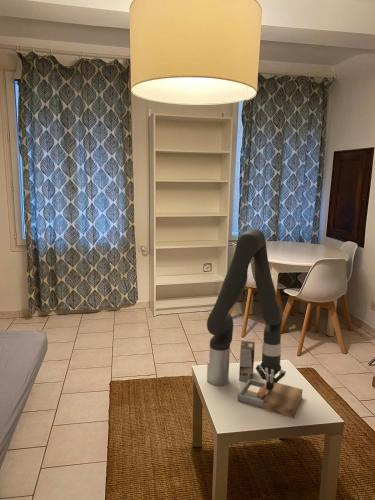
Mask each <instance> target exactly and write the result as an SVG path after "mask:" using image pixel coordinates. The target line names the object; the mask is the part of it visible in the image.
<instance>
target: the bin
mask: <svg viewBox="0 0 375 500" xmlns="http://www.w3.org/2000/svg"><path fill="white" fill-rule="evenodd" d="M265 384H266V382H263V381H260V380H256V379H253V378H252V379H250V378H249V380H248V381H246V383H245V384H244V386H243V387H242V389H241V390H240V391H239V392H238V395H237V402H239V403H243V404H245V405H249V406H253V407H255V408H259V409H261V410H264V409H263V400H264V398H265V397H266V395H267V393H268V391H269V390H268V391H267V392H266V393H265V395H264V396H263V397H262V398H260V397H259V396H257V397H256V396H252V395H248V394H247V390H248V388H249V387H250V385H253V386H256V387H260V390H261V389H262V387H263V386H264V385H265Z"/></svg>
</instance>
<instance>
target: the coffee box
mask: <svg viewBox="0 0 375 500" xmlns="http://www.w3.org/2000/svg"><path fill="white" fill-rule="evenodd" d="M255 343H256V342H255V341H248V340H247V341H244V340H241V341H240V351H239V352H240V353H239V354H240V356H239V372H238V376H239V377H238V381H240V382H241V381H243V382H247V381H248V380H249V378H250V379H253V377H254V367H255V366H254V363H255V350H256V349H255V345H256V344H255Z"/></svg>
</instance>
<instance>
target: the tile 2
mask: <svg viewBox="0 0 375 500" xmlns="http://www.w3.org/2000/svg"><path fill="white" fill-rule="evenodd" d="M267 389H268V388H266V384H265V385H264V386H263V387H262V389H261V390H260V391H259V393H258V396H259V397H260V398H262V397H263V396H264V395H265V393H266V392H267V391H268V390H267Z"/></svg>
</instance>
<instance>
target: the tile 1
mask: <svg viewBox="0 0 375 500" xmlns="http://www.w3.org/2000/svg"><path fill="white" fill-rule="evenodd" d="M259 391H260V387H256V386H253V385H250V387H249V388H248V390H247V394H248V395H252V396H256V397H257V396H258V393H259Z"/></svg>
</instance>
